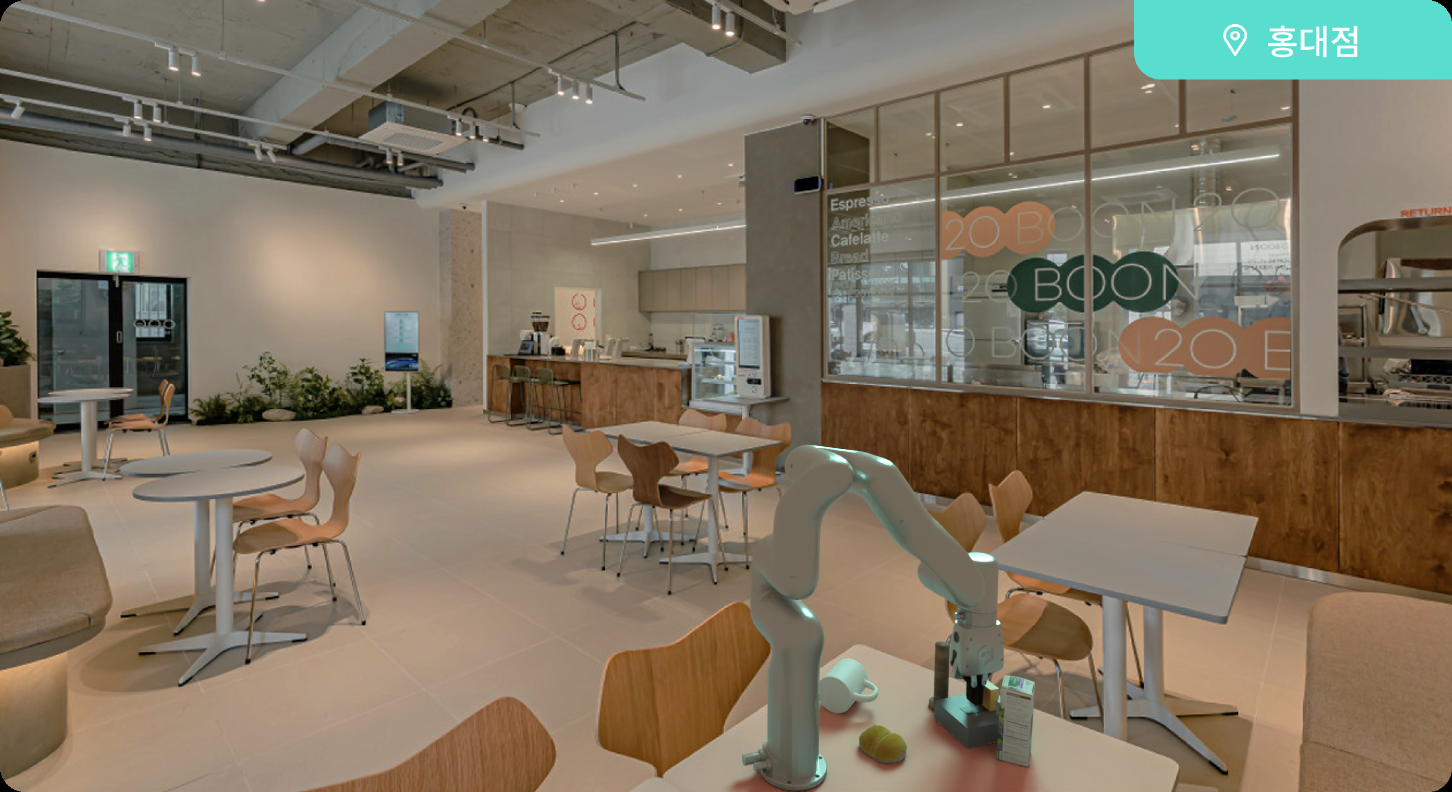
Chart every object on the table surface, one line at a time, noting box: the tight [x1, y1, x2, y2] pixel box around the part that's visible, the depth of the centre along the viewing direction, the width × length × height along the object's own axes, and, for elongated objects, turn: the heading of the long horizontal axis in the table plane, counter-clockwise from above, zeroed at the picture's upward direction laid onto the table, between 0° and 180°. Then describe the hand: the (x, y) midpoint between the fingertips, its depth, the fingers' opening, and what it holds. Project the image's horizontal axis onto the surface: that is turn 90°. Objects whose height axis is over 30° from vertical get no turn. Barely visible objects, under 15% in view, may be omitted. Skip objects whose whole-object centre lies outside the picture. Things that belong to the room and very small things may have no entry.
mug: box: [819, 658, 879, 714], centre depth 150 cm, size 12×10×8 cm
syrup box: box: [996, 674, 1036, 768], centre depth 131 cm, size 6×6×14 cm
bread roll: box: [858, 724, 908, 764], centre depth 134 cm, size 8×9×4 cm
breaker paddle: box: [982, 679, 1000, 711], centre depth 141 cm, size 2×4×4 cm, turn 17°
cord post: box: [928, 641, 951, 712], centre depth 148 cm, size 5×5×14 cm
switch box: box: [933, 693, 1000, 749], centre depth 141 cm, size 14×11×7 cm
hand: (974, 701), depth 141 cm, fingers closed
